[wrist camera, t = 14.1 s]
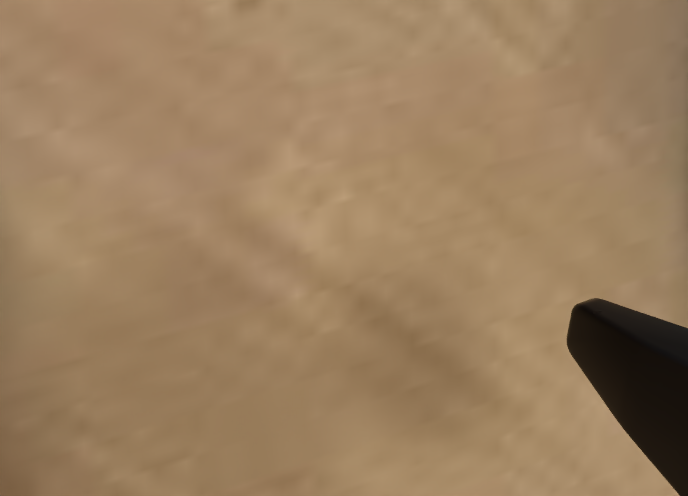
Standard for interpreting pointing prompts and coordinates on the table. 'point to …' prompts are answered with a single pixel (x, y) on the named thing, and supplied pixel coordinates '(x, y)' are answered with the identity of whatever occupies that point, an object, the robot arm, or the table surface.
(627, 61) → the table surface
